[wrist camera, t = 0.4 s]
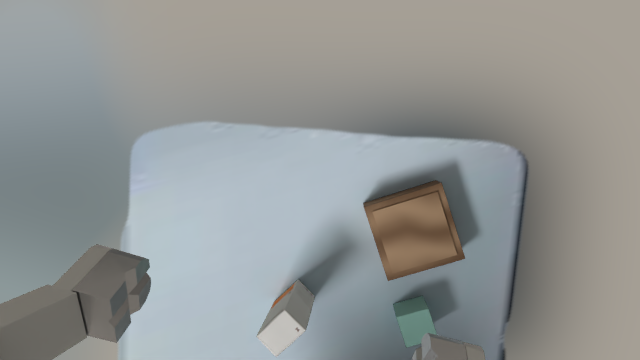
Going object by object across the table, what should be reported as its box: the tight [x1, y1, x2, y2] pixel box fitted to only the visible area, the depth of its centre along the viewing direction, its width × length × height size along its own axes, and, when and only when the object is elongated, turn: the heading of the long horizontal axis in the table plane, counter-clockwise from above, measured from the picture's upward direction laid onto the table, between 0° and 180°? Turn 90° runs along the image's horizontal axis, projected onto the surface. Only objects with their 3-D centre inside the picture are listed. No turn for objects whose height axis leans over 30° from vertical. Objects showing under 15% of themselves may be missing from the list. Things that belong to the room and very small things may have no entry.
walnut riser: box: [363, 180, 465, 281], centre depth 60 cm, size 12×12×4 cm
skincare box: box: [257, 280, 315, 357], centre depth 59 cm, size 6×4×12 cm
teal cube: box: [393, 296, 437, 348], centre depth 61 cm, size 5×5×5 cm
